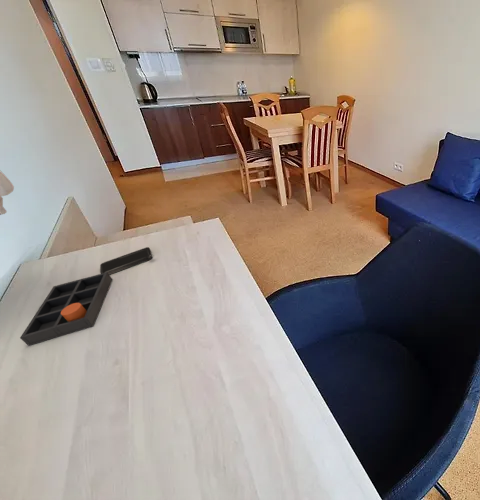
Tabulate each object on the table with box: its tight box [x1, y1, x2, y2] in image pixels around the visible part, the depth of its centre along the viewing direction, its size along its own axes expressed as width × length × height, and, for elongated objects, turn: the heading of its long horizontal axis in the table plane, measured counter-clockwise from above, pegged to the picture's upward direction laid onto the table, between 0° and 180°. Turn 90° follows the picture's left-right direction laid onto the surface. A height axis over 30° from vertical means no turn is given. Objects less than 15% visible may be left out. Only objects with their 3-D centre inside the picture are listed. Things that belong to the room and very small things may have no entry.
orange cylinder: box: [61, 303, 87, 322], centre depth 80 cm, size 4×4×4 cm
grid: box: [19, 272, 114, 347], centre depth 85 cm, size 14×21×3 cm
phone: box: [99, 246, 153, 276], centre depth 103 cm, size 8×1×15 cm
